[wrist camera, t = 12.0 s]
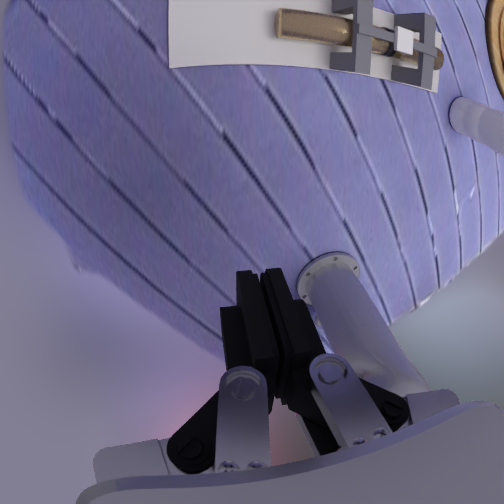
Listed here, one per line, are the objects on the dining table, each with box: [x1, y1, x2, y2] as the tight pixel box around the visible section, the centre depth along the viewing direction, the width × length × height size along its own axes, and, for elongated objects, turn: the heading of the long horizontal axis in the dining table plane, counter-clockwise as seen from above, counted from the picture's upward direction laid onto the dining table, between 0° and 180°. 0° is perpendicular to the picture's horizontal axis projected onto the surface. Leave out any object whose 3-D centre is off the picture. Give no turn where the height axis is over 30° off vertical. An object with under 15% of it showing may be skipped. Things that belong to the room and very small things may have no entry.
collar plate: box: [169, 0, 441, 93], centre depth 26 cm, size 11×40×9 cm, turn 89°
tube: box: [275, 8, 444, 71], centre depth 27 cm, size 24×4×4 cm, turn 89°
